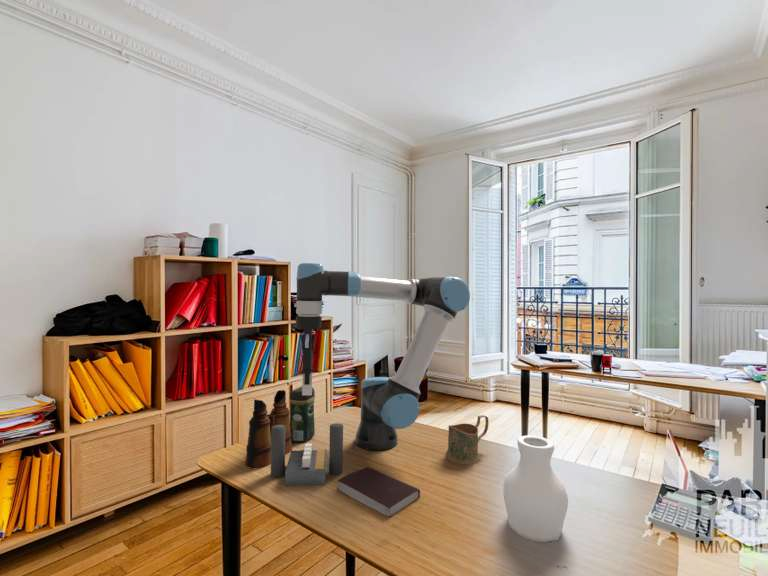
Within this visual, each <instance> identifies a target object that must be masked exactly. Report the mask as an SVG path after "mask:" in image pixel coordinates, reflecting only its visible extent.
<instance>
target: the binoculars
mask: <svg viewBox="0 0 768 576" xmlns="http://www.w3.org/2000/svg"><path fill="white" fill-rule="evenodd" d="M253 400H254V401H253V411H252V417H251V418H250V420H249V421H248V422H249V423H248V425H249V429H248V438H247V445H246V456H245V462H244V463H245V465H246V466H248V467H250V468H249V469H252V468H258V469H263V468H265V467H266V466H267V467H268V465H269V466H271V427H272V426H275V425H284V426H285V456H286V455H288V454H290V453H291V451H293V445H292V440H291V432H290V413H291V410H290V409H289V408H288V407H287V404H288V403H287V402H286V390H281V389H279V390H277V392H276V393H275V395H274V398H273V403H272V407H273V408H271V411H270V413H269V414H268V410H267V409H268V408H267V404H266V403H265V402H264V401H263V400H261V399H256V398H254V399H253ZM245 465H244V466H245ZM246 466H245V467H246ZM248 467H247V468H248Z"/></svg>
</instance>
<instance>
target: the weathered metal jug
mask: <svg viewBox="0 0 768 576" xmlns="http://www.w3.org/2000/svg"><path fill="white" fill-rule="evenodd" d="M481 418H482V419H483V418H484V420H485V426H484V430H483V432H482V433H481V434H479V428H478V427H479V426H480V424H481ZM488 429H489V417H488V416H486V415H477V421H476V424H475V425H474V424H471V423H458V424H454V425H453V424H452V425H451V424H450V425H448V437H447V439H448V443H447V446H448V447H447V450H446V451H445V454H444V457H445V458H446V459H448V461H450V462H452V463H456V464H460V465H474V464H477V463H479V462H480V461H481V458H482V457H481V454H480V453H479V444H478V443H479V442H480V440H481V439H482V438H483V437H484V436H485V435H486V434H487V432H488Z"/></svg>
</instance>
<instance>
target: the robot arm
mask: <svg viewBox="0 0 768 576" xmlns="http://www.w3.org/2000/svg"><path fill="white" fill-rule="evenodd" d="M323 267H324V266H323V264H322V263H315V262H303V263H300V264H298V266H297V272H296V279H295V280H296V303H294V308H296V310H295V313H296V315H297V316H295V328H296V329H297V330H303V333H302V334H301V337H300V340H301V350H302V369H301V370H300V374H302V386H301V387H302V395H312V388H313V373H314V372H315V371H316V370H315V369H314V368H313V367H314V366H313V364H314V363H313V362H314V360H313V358H314V349H315V341H316V334H314V330H320V329H321V328H322V321H323V320H322V319H323V318H322V314H323V296H327V297H328V296H333V297H334V296H336V297H339V296H340V297H341V296H342V297H353V298H364V299H365V298H366V299H375V300H388V301H399V302H400V301H401V302H405V304H407V305H414V306H415V305H416V306H419V307H423V310H424V313H423V316H422V317H421V320H420V322H419V325H418V326H417V329H416V331H415V333H414V335H413V337H412V339H411V341H410V344H409V345H408V348H407V350H406V352H405V354H404V356H403V358H402V360H401V363H400V365H399V366H398V369H397V371H396V373H395V375H393V376H390V377H388V376H375V377H374V376H373V377H366V378H363V380H362V381H361V385H360V422H359V424H358V425H359V426H358V428H357V431H356V434H355V444H356V445H357V446H358V447H360V448H361V449H366V450H371V451H384V450H389V449H392V448H394V447H396V446H397V445H398V441H399V440H398V436H399V435H398V433H397V430H403V429H407V428H408V427H411V426H412V425H413V424H414V423H415V422H416V420H417V419H418V417H419V414H420V403H419V398H420V395H421V391H420V385H421V382H422V381H423V378H424V377H425V373H426V371H427V369H428V367H429V365H430V362H431V361H432V358H433V356H434V353H435V352H436V350H437V347H438V345H439V343H440V340H441V338H442V336H443V334H444V331H445V329H446V328H447V325H448V324H449V322H453V321H455V318H456V317H457V313H459V312H462V311H463V310H465V309H466V308H467V307H468V305H469V303H470V298H471V293H470V290H469V286H468V285H467V283H466V282H465V281H464V280H463V279H462V278H460V277H456V276H446V277H445V276H443V277H440V276H439V277H436V276H435V277H426V278H408V279H406V280H404V279H393V278H385V277H374V276H365V275H360V274H359V273H358V272H355V271H341V270H340V271H337V270H324V268H323ZM396 429H397V430H396Z"/></svg>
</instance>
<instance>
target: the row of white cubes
mask: <svg viewBox="0 0 768 576" xmlns="http://www.w3.org/2000/svg"><path fill="white" fill-rule="evenodd" d="M312 450H313V443H305V445H304V454H303V459H302V468H303V467H310V460H311V454H312Z"/></svg>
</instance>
